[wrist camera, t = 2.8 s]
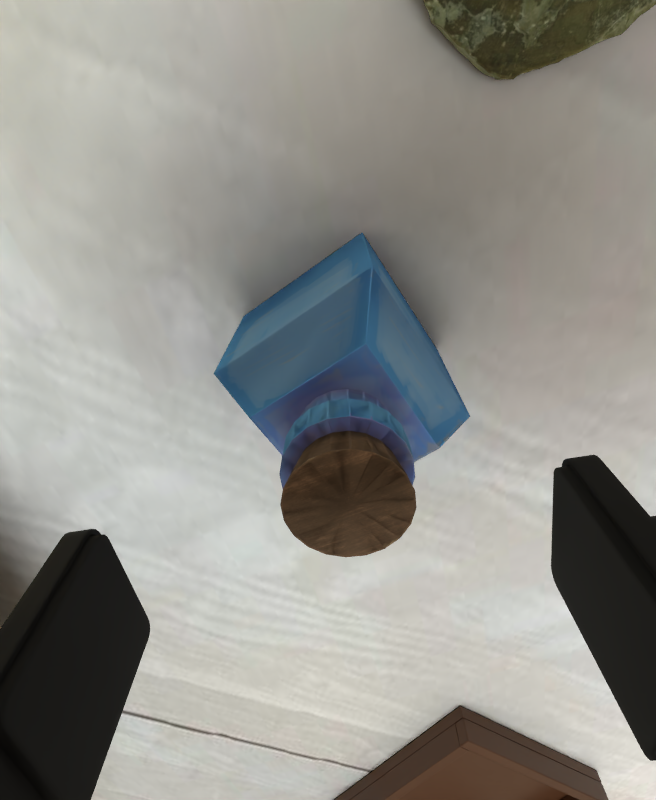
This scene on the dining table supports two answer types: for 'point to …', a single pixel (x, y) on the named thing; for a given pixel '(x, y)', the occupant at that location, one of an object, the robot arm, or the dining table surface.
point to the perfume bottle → (343, 399)
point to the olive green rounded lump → (529, 29)
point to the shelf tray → (477, 767)
